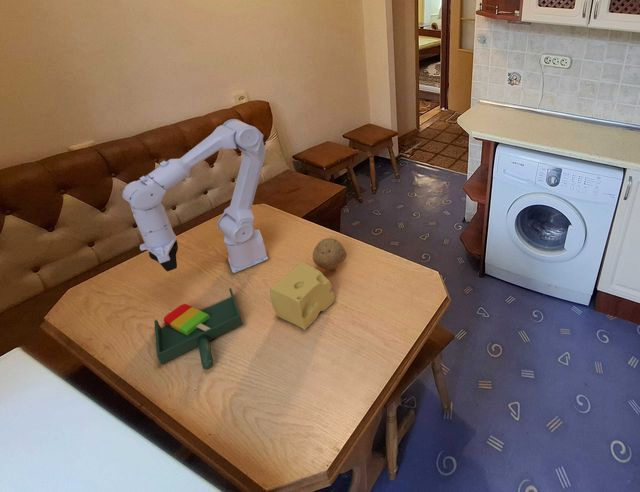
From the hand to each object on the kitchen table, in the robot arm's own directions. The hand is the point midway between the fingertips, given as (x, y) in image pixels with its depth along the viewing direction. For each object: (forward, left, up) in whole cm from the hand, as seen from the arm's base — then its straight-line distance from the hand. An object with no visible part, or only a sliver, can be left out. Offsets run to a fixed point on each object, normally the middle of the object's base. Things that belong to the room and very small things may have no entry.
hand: (171, 268), depth 93 cm
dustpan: (-2, +20, -9) cm, 22 cm away
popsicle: (-1, +14, -9) cm, 17 cm away
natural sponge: (-35, +15, -10) cm, 39 cm away
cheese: (-24, +26, -10) cm, 37 cm away
